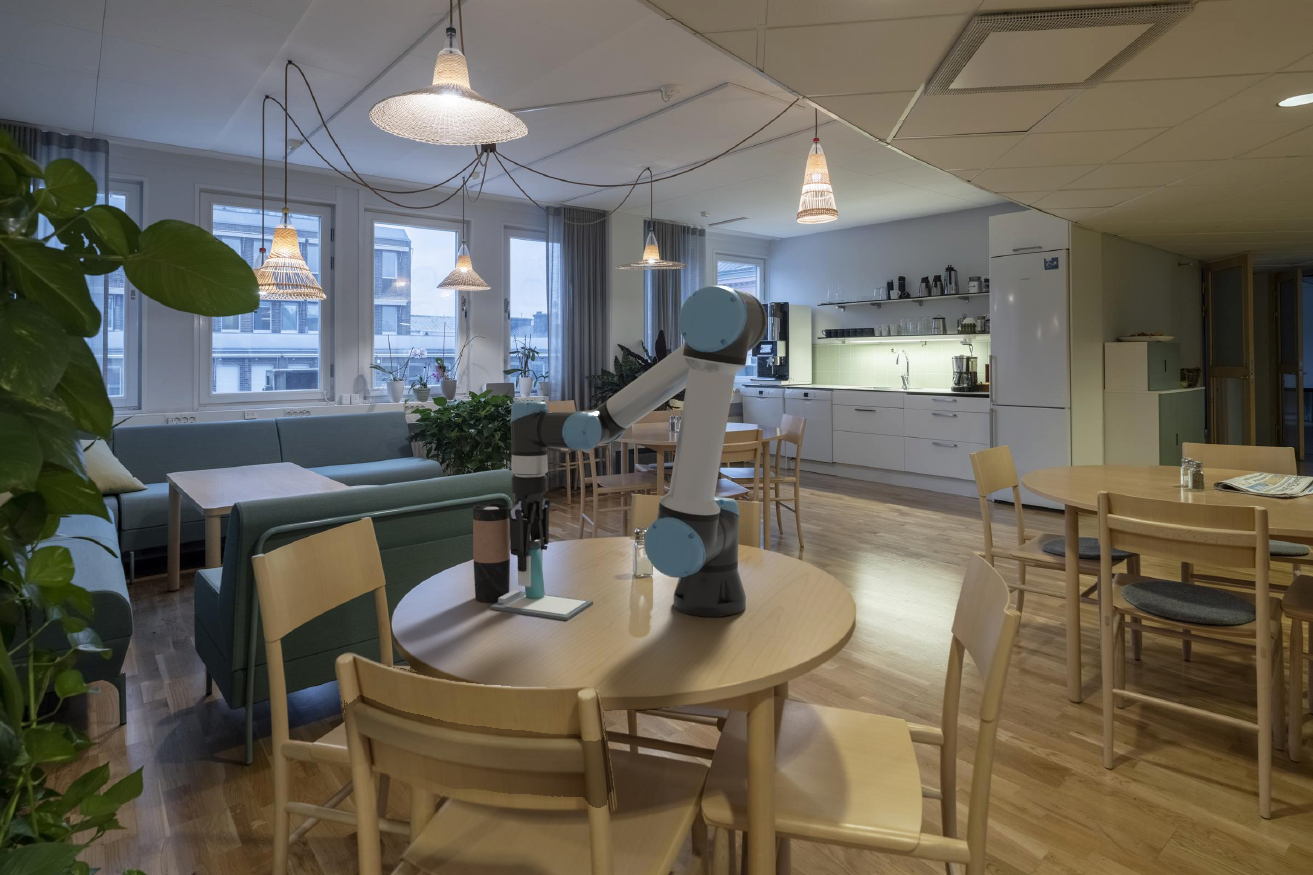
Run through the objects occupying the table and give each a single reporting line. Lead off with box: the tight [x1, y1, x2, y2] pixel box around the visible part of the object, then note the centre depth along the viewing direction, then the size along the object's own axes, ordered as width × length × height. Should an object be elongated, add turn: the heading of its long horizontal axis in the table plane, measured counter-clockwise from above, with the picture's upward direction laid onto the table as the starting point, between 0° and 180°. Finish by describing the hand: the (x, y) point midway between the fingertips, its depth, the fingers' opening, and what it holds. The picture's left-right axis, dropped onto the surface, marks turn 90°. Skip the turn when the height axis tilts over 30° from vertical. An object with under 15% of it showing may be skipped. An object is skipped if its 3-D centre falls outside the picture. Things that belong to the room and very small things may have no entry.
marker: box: [524, 538, 546, 599], centre depth 156 cm, size 4×4×12 cm
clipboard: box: [490, 589, 594, 621], centre depth 153 cm, size 18×11×2 cm, turn 68°
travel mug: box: [472, 502, 511, 604], centre depth 157 cm, size 8×8×20 cm
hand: (530, 582), depth 157 cm, fingers closed on marker, 4 cm apart
